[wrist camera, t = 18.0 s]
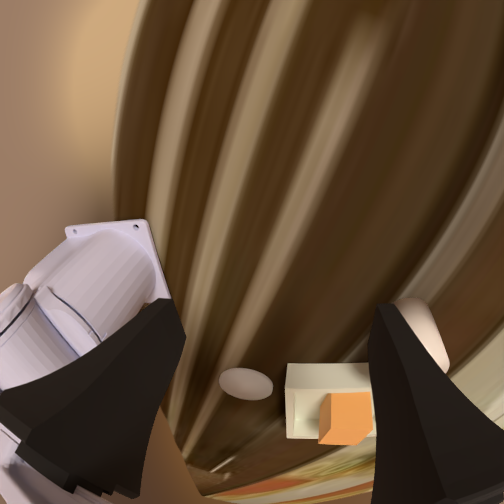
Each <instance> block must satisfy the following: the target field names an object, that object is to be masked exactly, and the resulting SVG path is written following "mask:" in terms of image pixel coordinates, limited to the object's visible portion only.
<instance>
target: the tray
mask: <svg viewBox="0 0 504 504" xmlns="http://www.w3.org/2000/svg"><path fill="white" fill-rule="evenodd" d="M355 392H370V396H371V407H372V420H373V430H372V431H371V432H370V433H369V434H368V435H367V436H366V437H370V436H376V421H375V412H374V404H373V396H372V389H371V382H370V375H369V362H367V363H339V364H296V363H288V365H287V374H286V383H285V403H286V428H287V438H301V439H318V438H319V419H320V406H321V404H322V402H323V401H324V399H325V397H326V396H327V394H328V393H355Z"/></svg>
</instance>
